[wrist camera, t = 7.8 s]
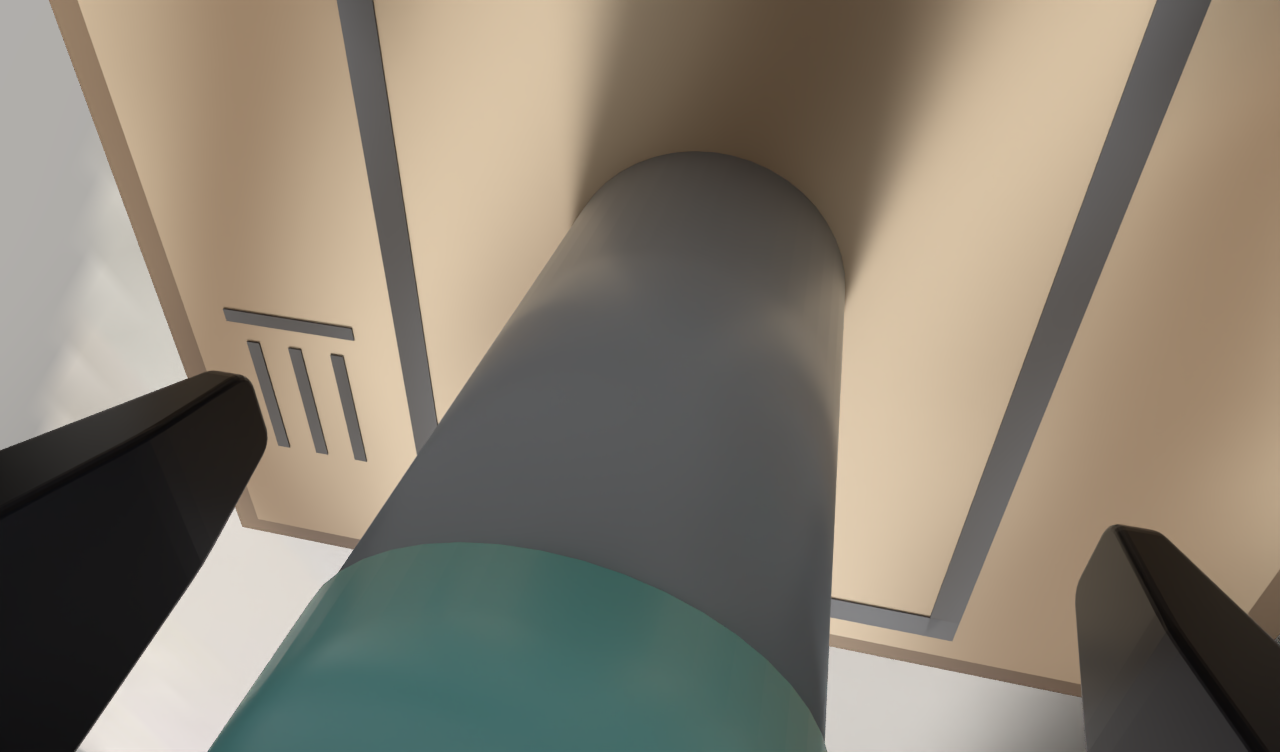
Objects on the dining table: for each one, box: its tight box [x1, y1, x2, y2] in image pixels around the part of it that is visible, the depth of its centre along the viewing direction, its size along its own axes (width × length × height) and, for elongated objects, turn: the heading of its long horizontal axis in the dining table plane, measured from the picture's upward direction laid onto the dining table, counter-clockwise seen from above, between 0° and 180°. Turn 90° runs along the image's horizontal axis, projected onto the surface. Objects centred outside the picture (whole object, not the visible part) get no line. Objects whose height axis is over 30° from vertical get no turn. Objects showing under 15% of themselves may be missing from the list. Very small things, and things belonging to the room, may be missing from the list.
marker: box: [208, 151, 845, 752], centre depth 8 cm, size 4×4×9 cm
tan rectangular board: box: [49, 0, 1280, 697], centre depth 12 cm, size 20×16×2 cm
